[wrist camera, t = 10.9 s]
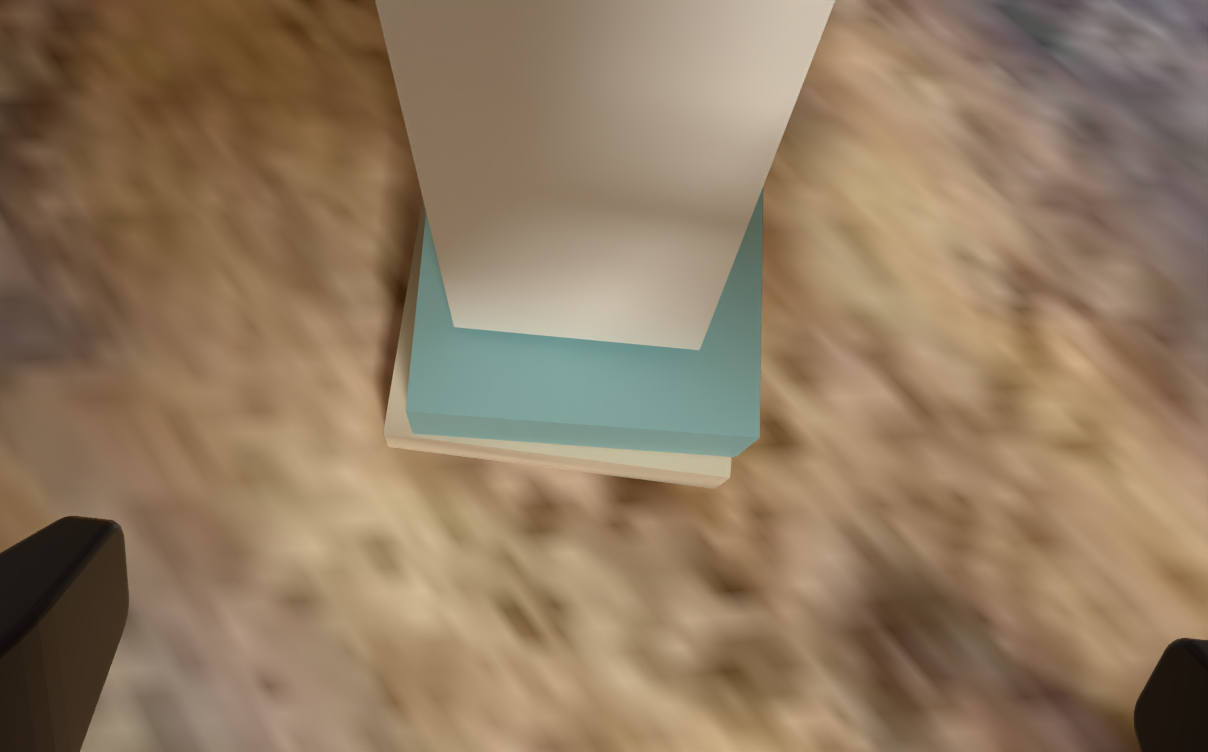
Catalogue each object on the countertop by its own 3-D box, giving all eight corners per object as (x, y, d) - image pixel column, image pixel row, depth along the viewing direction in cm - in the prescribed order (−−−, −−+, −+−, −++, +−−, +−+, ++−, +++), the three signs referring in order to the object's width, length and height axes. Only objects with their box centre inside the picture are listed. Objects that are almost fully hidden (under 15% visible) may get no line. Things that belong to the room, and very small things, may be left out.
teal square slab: (735, 457, 22) (759, 437, 20) (412, 433, 21) (405, 411, 19) (741, 165, 24) (764, 120, 22) (442, 136, 23) (438, 88, 21)
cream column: (699, 350, 20) (837, -6, 10) (454, 327, 20) (362, -53, 10) (712, 134, 21) (843, -354, 12) (483, 112, 21) (426, -397, 12)
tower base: (709, 492, 24) (730, 478, 22) (390, 451, 23) (383, 432, 21) (732, 202, 26) (754, 165, 24) (438, 157, 25) (435, 115, 23)
